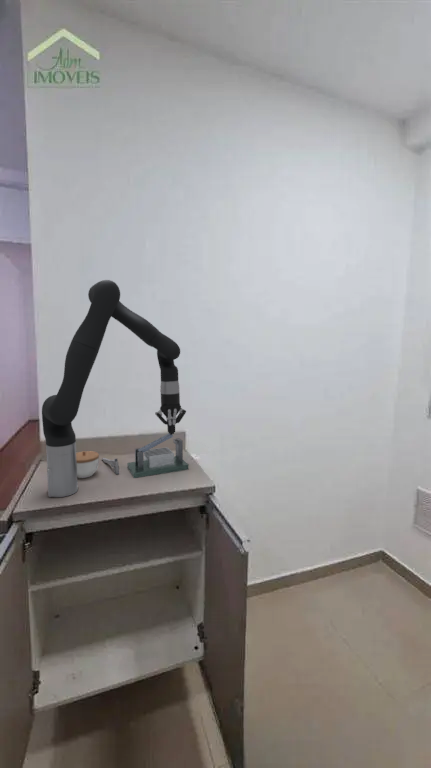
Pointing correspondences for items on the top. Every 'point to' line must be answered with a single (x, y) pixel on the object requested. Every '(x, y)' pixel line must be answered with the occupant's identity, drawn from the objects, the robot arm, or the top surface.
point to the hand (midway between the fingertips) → (171, 433)
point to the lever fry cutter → (158, 461)
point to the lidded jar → (86, 463)
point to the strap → (155, 443)
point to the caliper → (112, 464)
